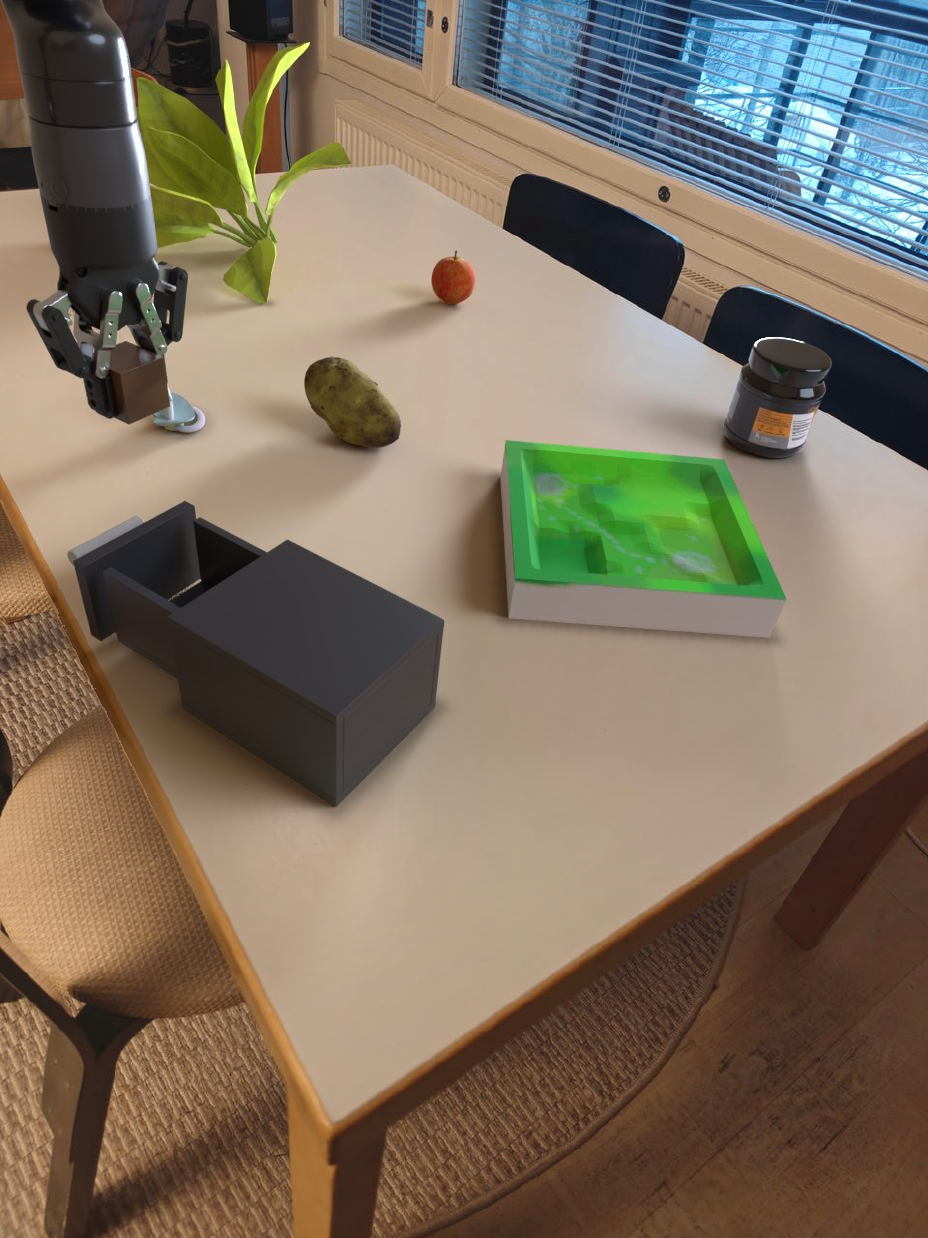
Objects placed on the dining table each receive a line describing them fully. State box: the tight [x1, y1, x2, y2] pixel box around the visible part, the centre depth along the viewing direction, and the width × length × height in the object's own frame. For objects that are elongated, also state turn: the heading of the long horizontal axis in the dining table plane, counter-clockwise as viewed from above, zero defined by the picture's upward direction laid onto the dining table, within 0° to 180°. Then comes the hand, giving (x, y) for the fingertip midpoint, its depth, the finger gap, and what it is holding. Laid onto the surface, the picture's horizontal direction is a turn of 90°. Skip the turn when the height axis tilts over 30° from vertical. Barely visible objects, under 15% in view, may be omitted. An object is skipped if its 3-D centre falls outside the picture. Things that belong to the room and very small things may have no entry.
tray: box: [499, 439, 787, 639], centre depth 89 cm, size 25×25×5 cm
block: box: [93, 340, 170, 426], centre depth 72 cm, size 4×4×4 cm
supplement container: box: [722, 337, 833, 459], centre depth 108 cm, size 10×10×12 cm
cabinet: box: [168, 539, 446, 808], centre depth 66 cm, size 16×13×10 cm
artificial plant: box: [136, 42, 352, 305], centre depth 133 cm, size 42×43×30 cm
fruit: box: [430, 250, 476, 306], centre depth 136 cm, size 7×7×8 cm
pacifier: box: [151, 386, 206, 434], centre depth 99 cm, size 7×6×6 cm
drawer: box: [66, 500, 268, 679], centre depth 71 cm, size 19×11×8 cm, turn 57°
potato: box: [303, 355, 402, 448], centre depth 101 cm, size 8×13×8 cm, turn 34°
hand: (130, 403), depth 73 cm, fingers closed on block, 4 cm apart
